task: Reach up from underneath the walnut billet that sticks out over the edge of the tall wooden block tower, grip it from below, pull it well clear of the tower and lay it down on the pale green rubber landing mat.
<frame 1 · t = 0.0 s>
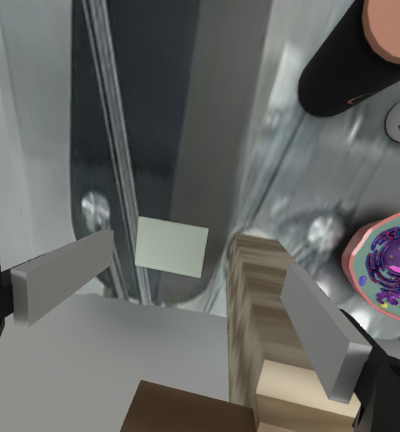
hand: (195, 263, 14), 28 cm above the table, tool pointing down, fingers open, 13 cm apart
wooden block tower: (250, 261, 43), on the table
cell model: (371, 251, 39), on the table
landing mat: (170, 246, 44), on the table
coffee jar: (326, 87, 35), on the table
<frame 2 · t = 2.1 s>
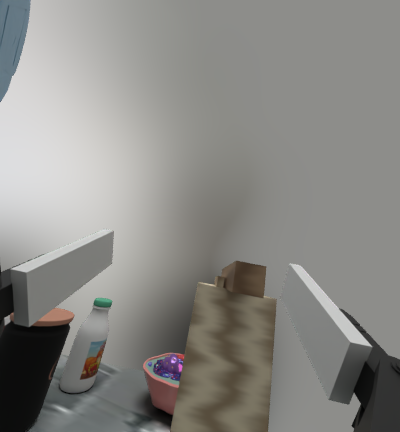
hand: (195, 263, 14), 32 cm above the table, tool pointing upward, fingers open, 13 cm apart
billet: (234, 290, 31), point 30 cm above the table, touching wooden block tower
cell model: (174, 407, 47), on the table
coffee jar: (0, 425, 34), on the table
milk bottle: (76, 385, 47), on the table
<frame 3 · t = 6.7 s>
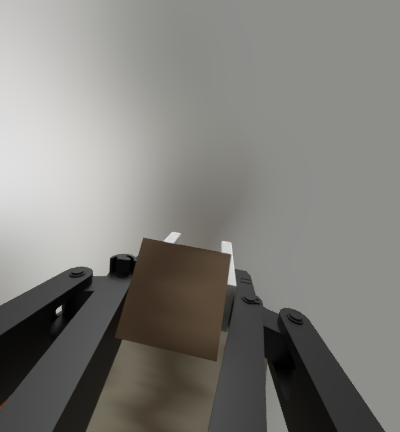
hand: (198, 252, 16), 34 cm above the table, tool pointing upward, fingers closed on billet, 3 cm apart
billet: (189, 307, 16), point 30 cm above the table, touching gripper
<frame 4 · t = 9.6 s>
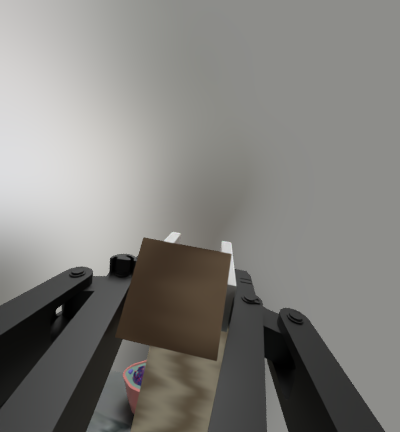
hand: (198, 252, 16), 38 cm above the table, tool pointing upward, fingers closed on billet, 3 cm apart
billet: (189, 307, 16), point 33 cm above the table, touching gripper
cell model: (155, 413, 48), on the table
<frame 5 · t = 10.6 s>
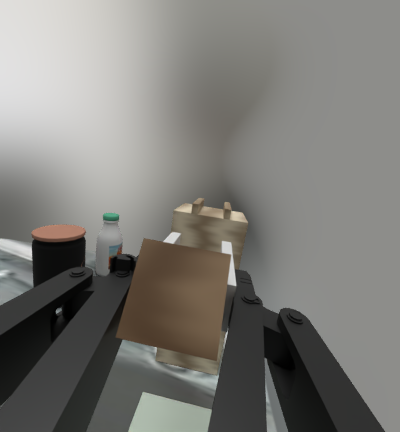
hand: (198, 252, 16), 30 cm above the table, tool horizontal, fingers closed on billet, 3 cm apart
billet: (189, 307, 16), point 25 cm above the table, tilted 30°, touching gripper
wooden block tower: (189, 347, 41), on the table
coffee jar: (60, 296, 50), on the table
milk bottle: (108, 272, 65), on the table
when the fingers open (13 cm above the table, at t = 12.7 s): billet drops 8 cm, resting on landing mat.
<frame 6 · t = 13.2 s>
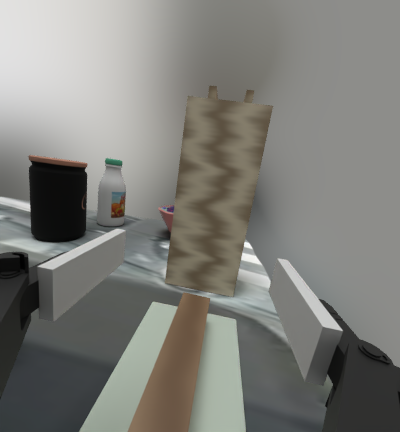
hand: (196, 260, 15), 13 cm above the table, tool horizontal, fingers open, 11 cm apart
billet: (170, 403, 16), point 1 cm above the table, touching landing mat
wooden block tower: (201, 276, 37), on the table
cell model: (187, 236, 61), on the table
landing mat: (180, 368, 19), on the table
coffee jar: (60, 235, 47), on the table
milk bottle: (110, 224, 61), on the table
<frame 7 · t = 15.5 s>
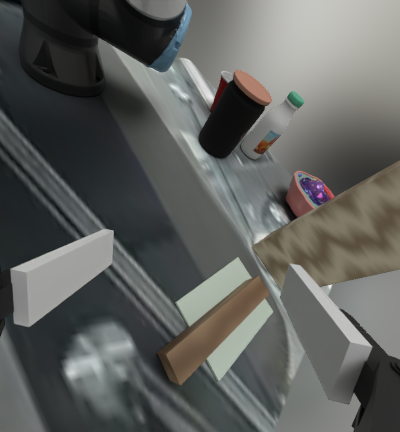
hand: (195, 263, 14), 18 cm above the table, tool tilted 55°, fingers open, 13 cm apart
billet: (216, 319, 31), point 1 cm above the table, touching landing mat
wooden block tower: (277, 261, 45), on the table
cell model: (296, 210, 62), on the table
landing mat: (228, 307, 33), on the table
coffee jar: (213, 146, 57), on the table
milk bottle: (248, 152, 66), on the table
plastic cup: (216, 114, 68), on the table
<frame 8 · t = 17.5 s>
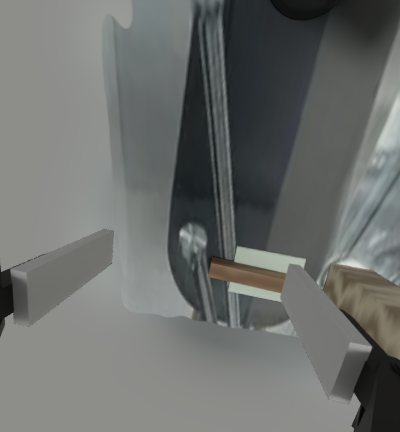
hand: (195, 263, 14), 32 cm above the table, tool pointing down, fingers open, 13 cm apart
billet: (250, 272, 46), point 1 cm above the table, touching landing mat
wooden block tower: (343, 289, 45), on the table
landing mat: (264, 274, 47), on the table
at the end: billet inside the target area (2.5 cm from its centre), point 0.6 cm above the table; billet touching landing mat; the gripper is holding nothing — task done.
